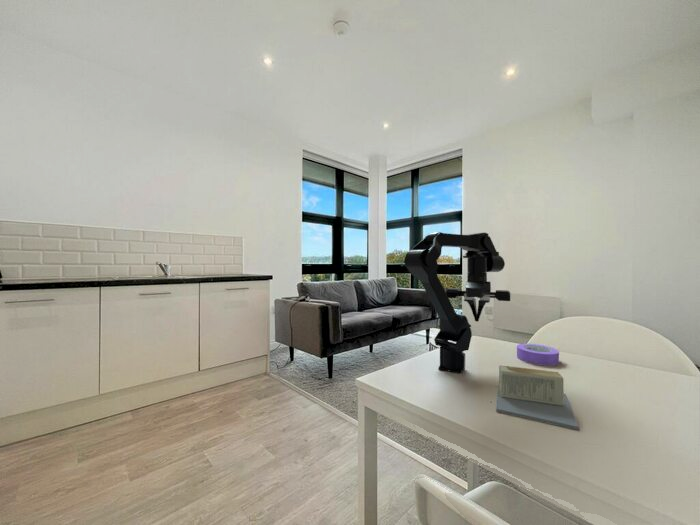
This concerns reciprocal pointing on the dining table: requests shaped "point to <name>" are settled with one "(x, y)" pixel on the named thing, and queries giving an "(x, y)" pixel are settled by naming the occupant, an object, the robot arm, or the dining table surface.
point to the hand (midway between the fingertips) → (476, 321)
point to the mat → (539, 411)
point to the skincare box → (531, 385)
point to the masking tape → (538, 354)
